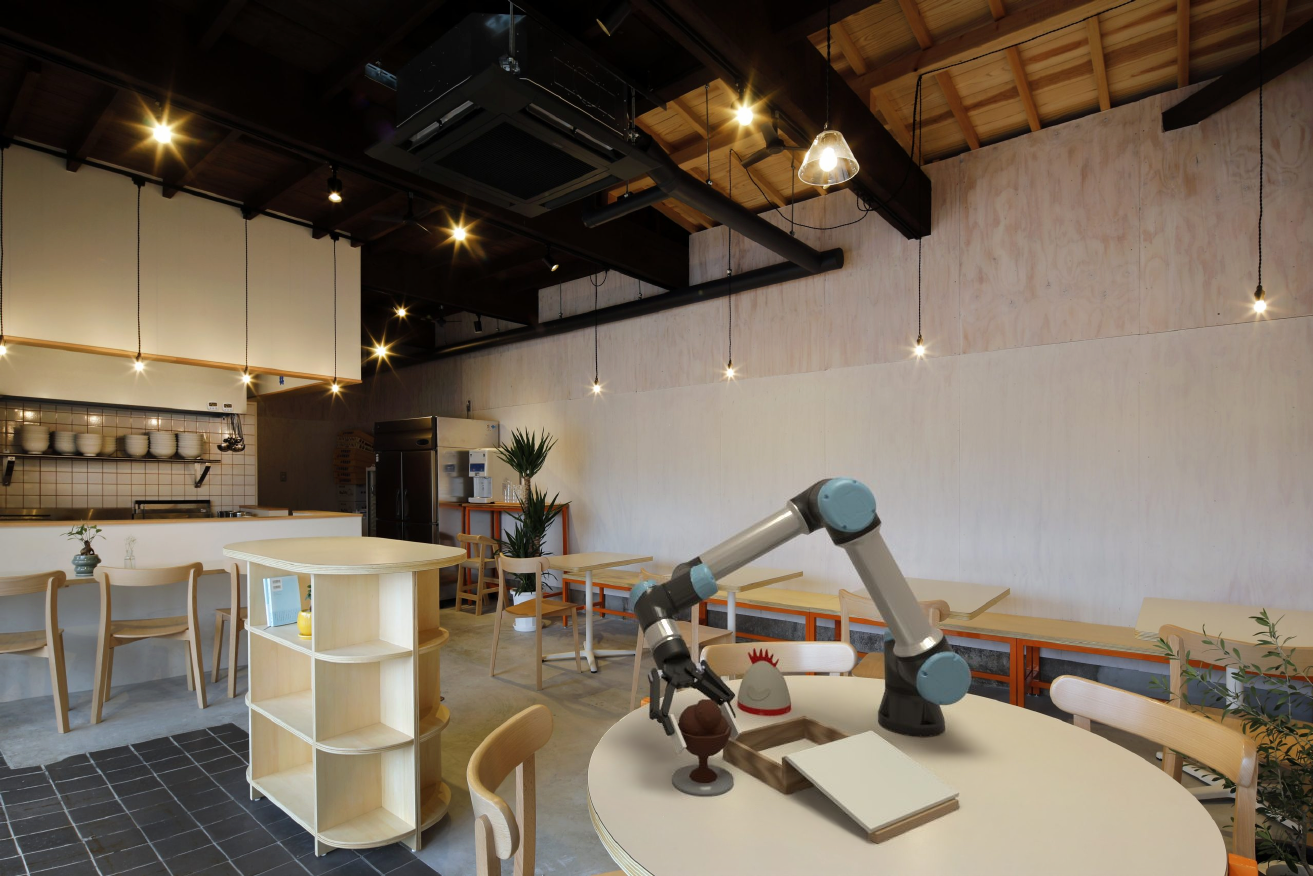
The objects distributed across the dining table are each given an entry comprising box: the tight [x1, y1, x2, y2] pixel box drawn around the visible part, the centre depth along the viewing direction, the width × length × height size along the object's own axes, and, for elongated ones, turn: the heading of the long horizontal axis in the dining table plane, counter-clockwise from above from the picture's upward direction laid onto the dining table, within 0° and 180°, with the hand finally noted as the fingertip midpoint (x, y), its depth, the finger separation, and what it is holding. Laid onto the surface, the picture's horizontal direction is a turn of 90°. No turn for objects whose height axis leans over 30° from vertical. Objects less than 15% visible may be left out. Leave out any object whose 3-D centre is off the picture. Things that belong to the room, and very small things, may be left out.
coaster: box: [671, 763, 735, 797], centre depth 125 cm, size 12×12×1 cm
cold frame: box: [722, 715, 853, 796], centre depth 135 cm, size 19×24×6 cm
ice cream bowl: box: [677, 698, 732, 783], centre depth 126 cm, size 11×11×15 cm
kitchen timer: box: [737, 647, 792, 717], centre depth 169 cm, size 14×14×15 cm
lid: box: [785, 730, 960, 845], centre depth 118 cm, size 20×24×7 cm
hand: (710, 743), depth 124 cm, fingers open, 12 cm apart
